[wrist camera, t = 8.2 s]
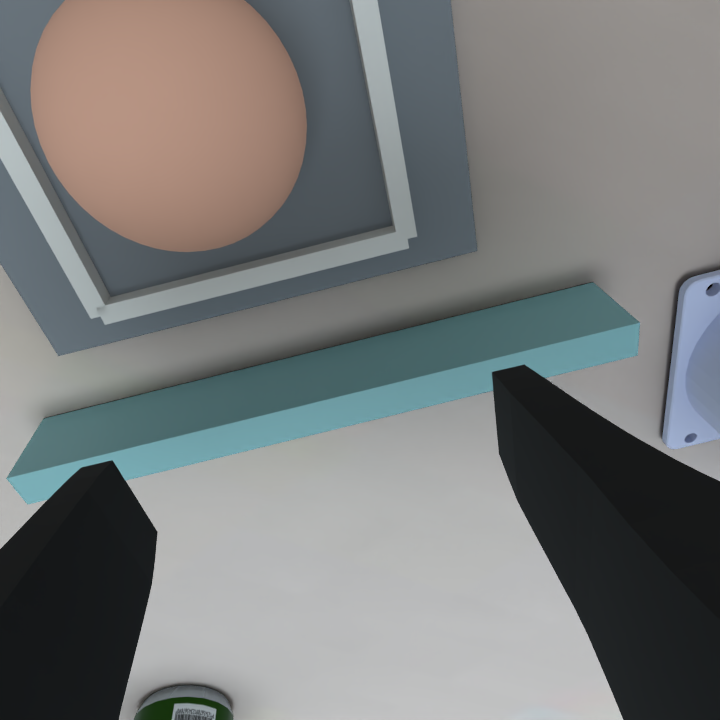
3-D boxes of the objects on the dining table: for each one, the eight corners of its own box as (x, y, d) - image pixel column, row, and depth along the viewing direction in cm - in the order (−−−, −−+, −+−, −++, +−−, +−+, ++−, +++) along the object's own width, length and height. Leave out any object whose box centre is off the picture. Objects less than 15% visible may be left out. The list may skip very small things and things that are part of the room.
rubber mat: (414, -292, 11) (424, -318, 10) (473, 246, 18) (482, 257, 17) (-225, -116, 12) (-265, -126, 11) (62, 349, 18) (51, 365, 17)
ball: (265, -51, 13) (257, -96, 8) (325, 185, 16) (344, 252, 11) (36, 10, 13) (-106, 0, 8) (139, 233, 16) (79, 321, 11)
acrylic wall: (593, 282, 19) (639, 322, 16) (592, 311, 19) (637, 355, 17) (43, 418, 19) (6, 478, 17) (60, 443, 20) (27, 504, 17)
